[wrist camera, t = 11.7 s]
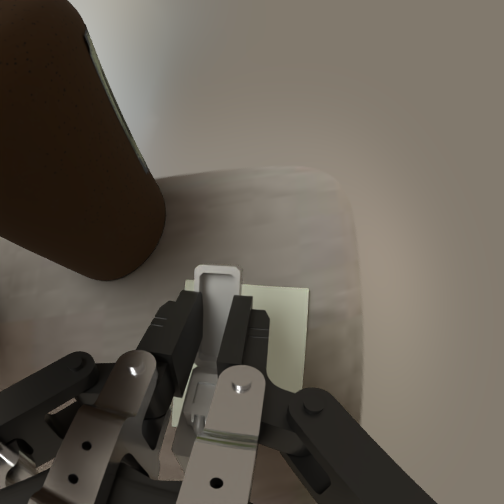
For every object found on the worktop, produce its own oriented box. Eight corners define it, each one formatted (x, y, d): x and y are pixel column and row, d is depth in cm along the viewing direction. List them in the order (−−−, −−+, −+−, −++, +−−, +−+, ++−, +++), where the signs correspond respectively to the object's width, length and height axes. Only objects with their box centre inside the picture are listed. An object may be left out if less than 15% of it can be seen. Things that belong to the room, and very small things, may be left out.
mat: (173, 424, 16) (171, 426, 15) (187, 281, 19) (186, 279, 18) (295, 438, 15) (296, 440, 15) (307, 290, 18) (308, 288, 18)
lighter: (229, 491, 9) (215, 401, 5) (190, 486, 9) (139, 389, 5) (241, 378, 15) (242, 252, 12) (212, 375, 15) (201, 251, 12)
